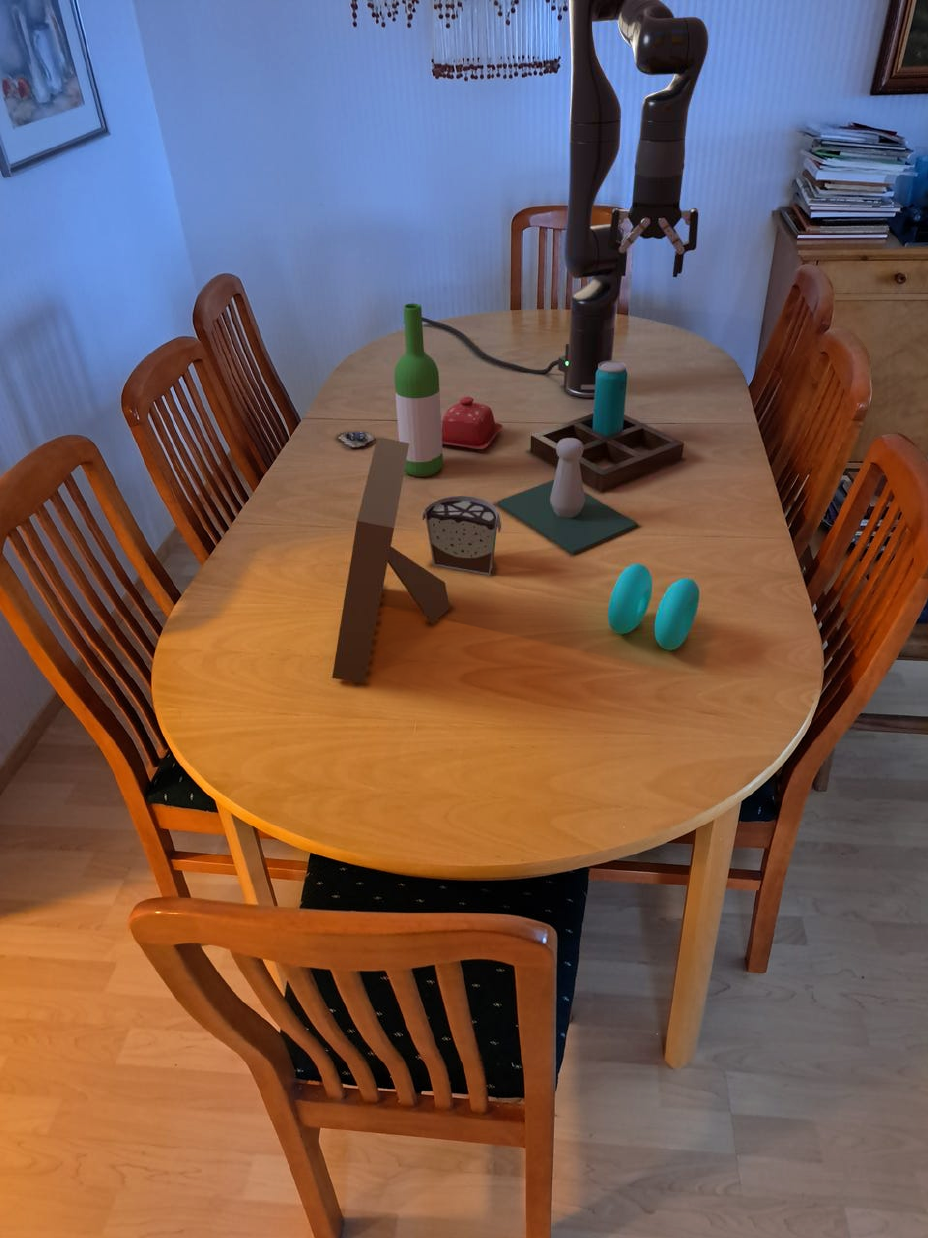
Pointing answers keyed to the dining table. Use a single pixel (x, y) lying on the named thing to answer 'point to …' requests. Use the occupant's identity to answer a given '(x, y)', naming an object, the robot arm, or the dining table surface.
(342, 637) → the photo frame
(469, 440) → the butter dish
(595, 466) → the stand
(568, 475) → the salt shaker
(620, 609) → the donuts
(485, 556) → the food container
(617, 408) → the beverage can
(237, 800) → the dining table surface
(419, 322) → the wine bottle
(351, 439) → the blueberries
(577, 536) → the placemat
